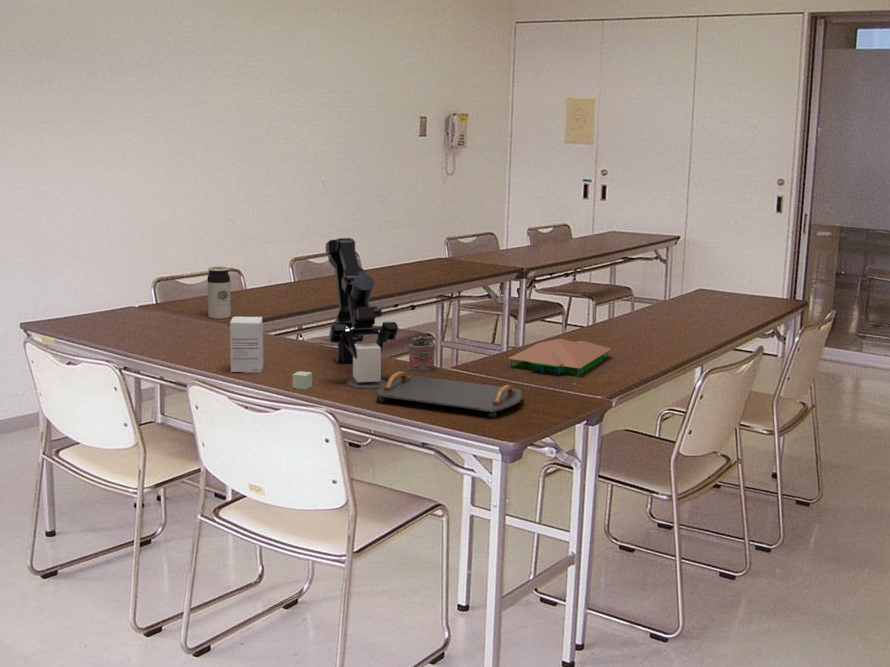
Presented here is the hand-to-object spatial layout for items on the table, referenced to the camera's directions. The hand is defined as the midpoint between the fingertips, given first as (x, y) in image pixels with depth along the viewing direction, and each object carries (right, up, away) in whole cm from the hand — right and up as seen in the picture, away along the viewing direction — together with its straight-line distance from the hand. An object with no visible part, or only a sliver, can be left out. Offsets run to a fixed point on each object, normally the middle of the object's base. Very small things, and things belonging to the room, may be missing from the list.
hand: (368, 357), depth 293 cm
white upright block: (-1, -6, +3) cm, 7 cm away
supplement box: (-37, -4, +17) cm, 40 cm away
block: (-18, -8, -2) cm, 20 cm away
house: (+57, -3, +33) cm, 65 cm away
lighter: (+14, -4, +21) cm, 26 cm away
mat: (-1, -7, +3) cm, 8 cm away
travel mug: (-61, +12, +92) cm, 111 cm away
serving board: (+23, -12, -11) cm, 28 cm away
